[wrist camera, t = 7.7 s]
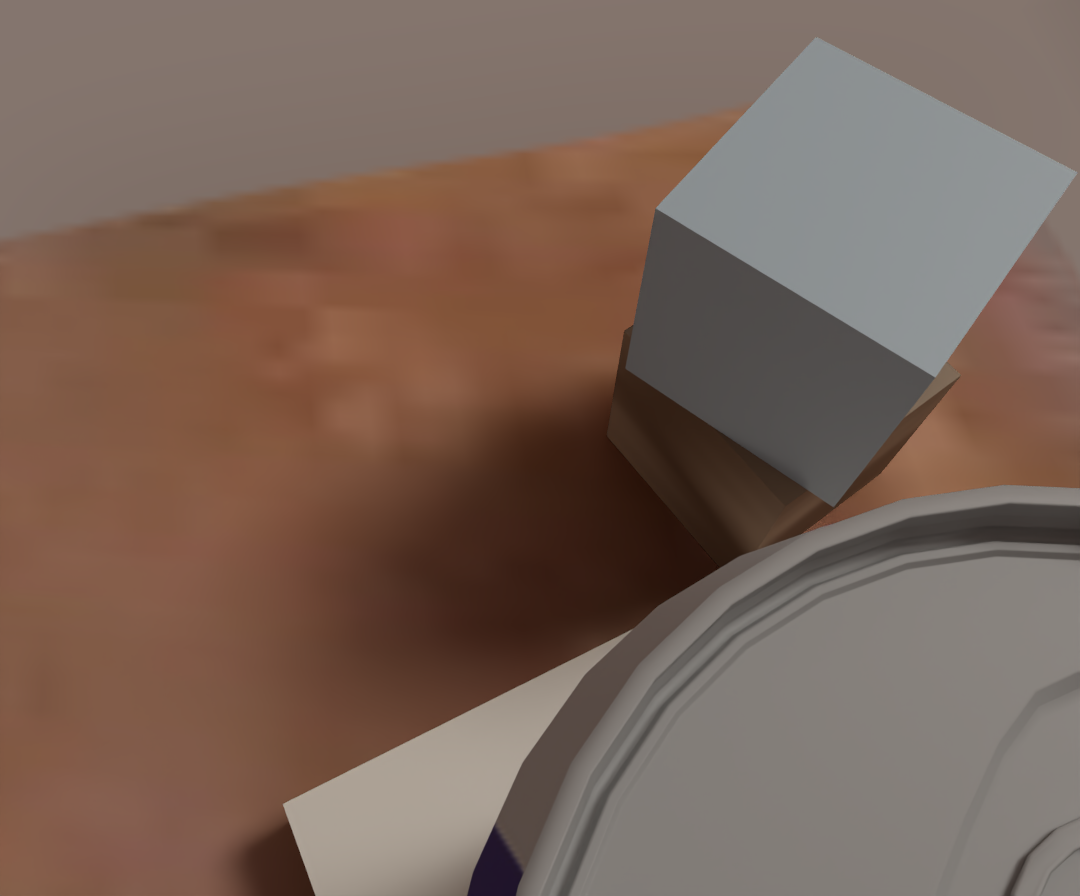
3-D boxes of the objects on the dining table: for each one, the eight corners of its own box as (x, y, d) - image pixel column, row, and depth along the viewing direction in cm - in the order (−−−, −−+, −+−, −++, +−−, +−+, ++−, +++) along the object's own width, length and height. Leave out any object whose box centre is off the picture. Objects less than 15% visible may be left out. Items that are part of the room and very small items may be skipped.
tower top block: (952, 337, 16) (1077, 172, 12) (833, 507, 15) (934, 377, 11) (754, 220, 17) (816, 36, 13) (625, 368, 16) (655, 208, 12)
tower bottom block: (879, 473, 19) (961, 375, 16) (734, 585, 18) (785, 506, 15) (749, 340, 21) (796, 221, 17) (606, 436, 20) (624, 330, 16)
